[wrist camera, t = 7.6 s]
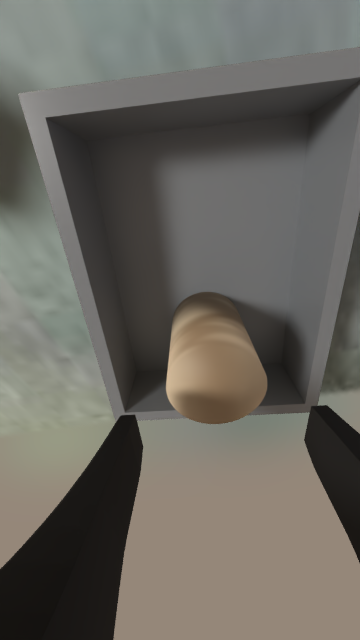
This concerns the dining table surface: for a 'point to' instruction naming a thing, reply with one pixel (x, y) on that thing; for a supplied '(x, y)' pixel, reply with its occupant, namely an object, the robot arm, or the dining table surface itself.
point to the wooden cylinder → (212, 362)
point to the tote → (207, 212)
